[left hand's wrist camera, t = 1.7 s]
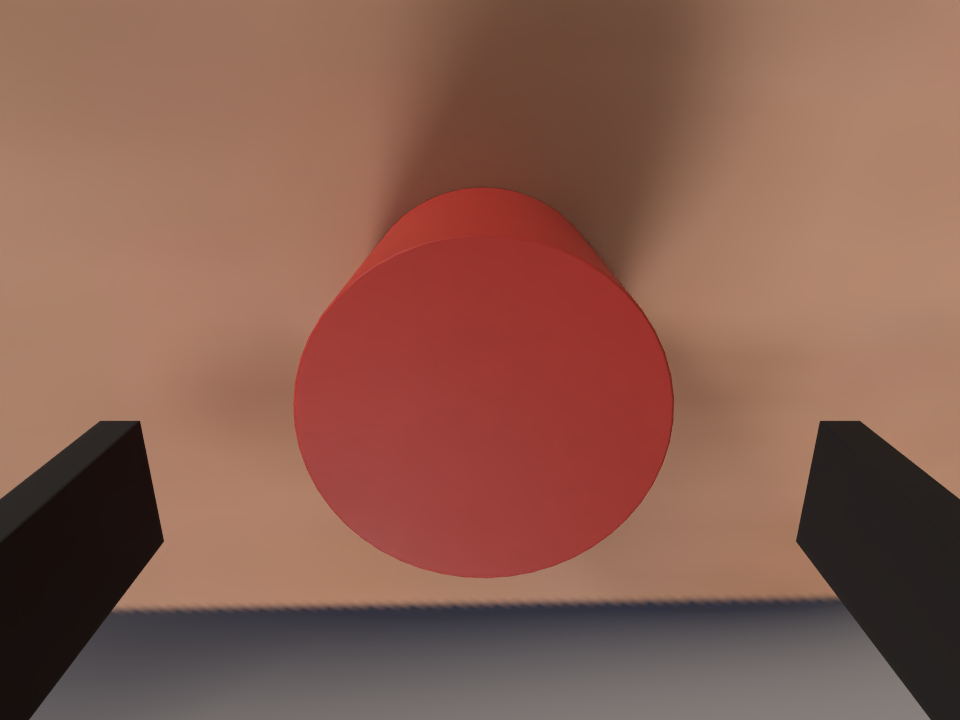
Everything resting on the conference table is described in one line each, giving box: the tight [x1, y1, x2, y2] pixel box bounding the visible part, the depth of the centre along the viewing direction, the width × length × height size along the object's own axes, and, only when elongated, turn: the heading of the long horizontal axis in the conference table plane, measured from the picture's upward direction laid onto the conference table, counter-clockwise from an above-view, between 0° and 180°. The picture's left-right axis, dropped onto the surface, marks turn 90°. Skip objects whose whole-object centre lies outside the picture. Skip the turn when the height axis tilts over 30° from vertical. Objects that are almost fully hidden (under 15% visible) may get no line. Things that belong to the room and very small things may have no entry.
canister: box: [293, 187, 674, 578], centre depth 18 cm, size 8×8×9 cm
